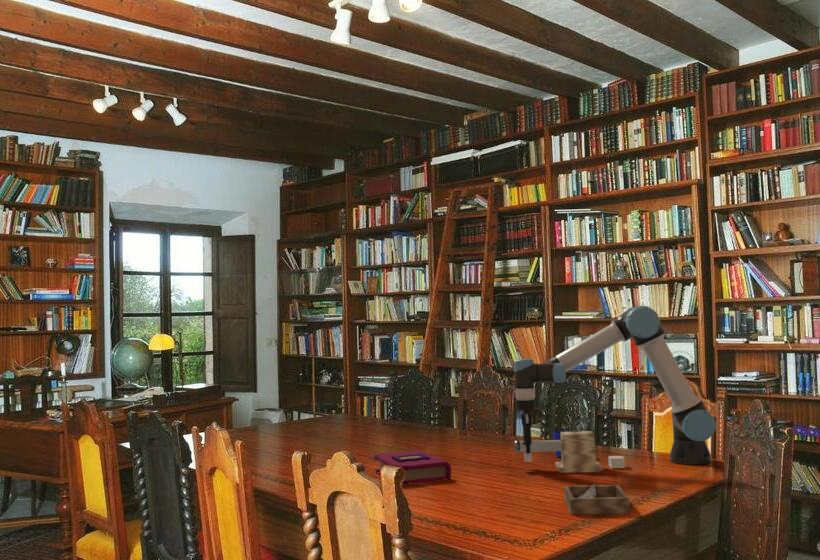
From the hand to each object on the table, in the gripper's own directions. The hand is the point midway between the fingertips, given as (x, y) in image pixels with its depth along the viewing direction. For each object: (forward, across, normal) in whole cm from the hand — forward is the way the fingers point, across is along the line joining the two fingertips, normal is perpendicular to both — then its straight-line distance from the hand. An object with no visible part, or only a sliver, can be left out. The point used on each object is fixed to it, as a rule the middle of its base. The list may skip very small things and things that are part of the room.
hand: (528, 460), depth 285 cm
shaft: (-3, 0, +9) cm, 10 cm away
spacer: (0, -1, +33) cm, 33 cm away
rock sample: (+4, +55, +14) cm, 57 cm away
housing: (+3, 0, +19) cm, 19 cm away
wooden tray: (+3, +57, +17) cm, 60 cm away
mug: (+4, -24, +18) cm, 30 cm away
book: (+4, +7, -44) cm, 45 cm away
